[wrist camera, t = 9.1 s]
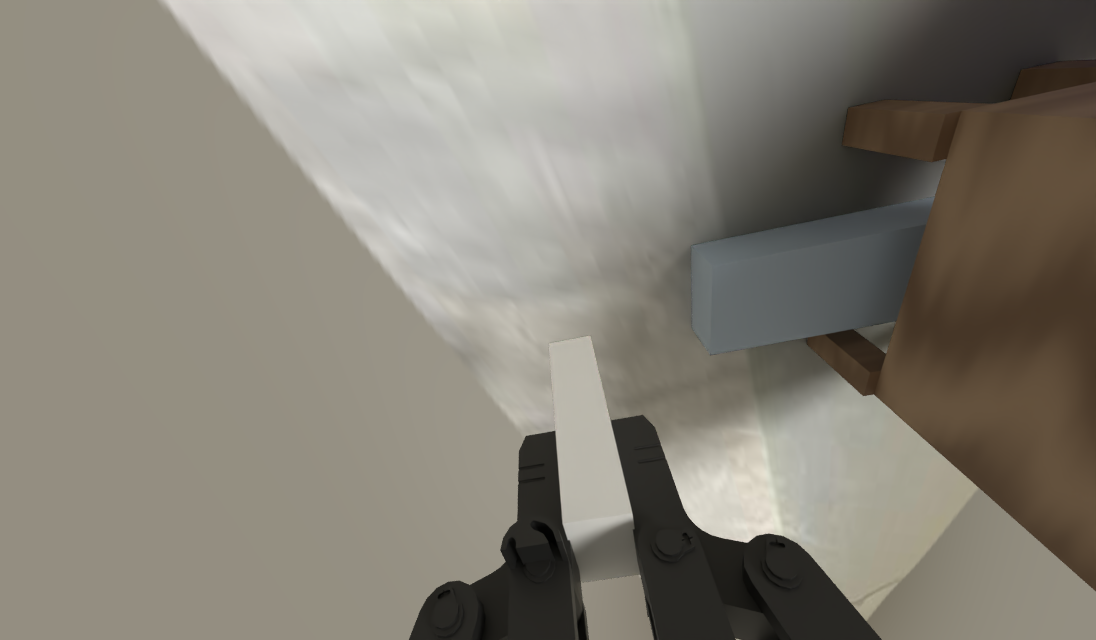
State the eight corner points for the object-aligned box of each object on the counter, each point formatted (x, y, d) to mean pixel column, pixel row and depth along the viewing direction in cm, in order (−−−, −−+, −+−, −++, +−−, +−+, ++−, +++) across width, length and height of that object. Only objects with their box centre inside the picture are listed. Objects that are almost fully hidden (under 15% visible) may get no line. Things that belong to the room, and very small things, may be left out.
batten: (688, 242, 20) (712, 265, 17) (997, 180, 19) (1071, 195, 16) (689, 324, 22) (710, 355, 20) (961, 272, 22) (1020, 298, 19)
